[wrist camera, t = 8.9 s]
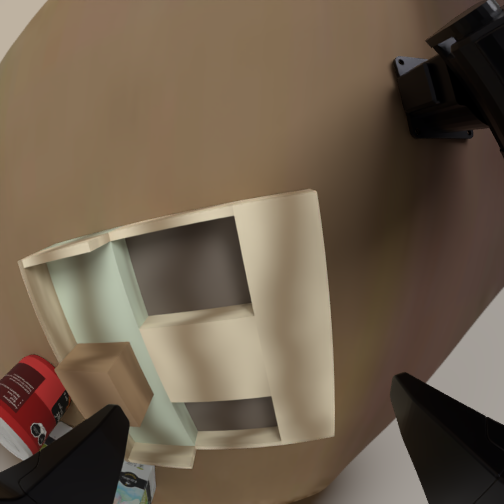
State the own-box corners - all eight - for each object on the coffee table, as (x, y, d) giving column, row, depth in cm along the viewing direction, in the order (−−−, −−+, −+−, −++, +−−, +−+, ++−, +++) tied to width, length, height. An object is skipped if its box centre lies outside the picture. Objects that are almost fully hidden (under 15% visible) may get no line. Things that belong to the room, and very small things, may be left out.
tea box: (156, 458, 28) (127, 549, 13) (156, 485, 30) (136, 559, 16) (57, 417, 27) (11, 488, 13) (71, 452, 30) (38, 513, 16)
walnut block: (129, 341, 19) (107, 372, 16) (154, 394, 21) (139, 427, 17) (78, 343, 20) (54, 369, 16) (103, 392, 21) (86, 420, 17)
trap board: (309, 188, 19) (326, 194, 14) (330, 419, 24) (339, 456, 19) (55, 244, 20) (17, 261, 15) (139, 429, 26) (125, 461, 21)
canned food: (58, 408, 26) (20, 463, 16) (18, 362, 25) (-29, 410, 14) (84, 397, 25) (41, 463, 14) (38, 343, 23) (-20, 400, 13)
